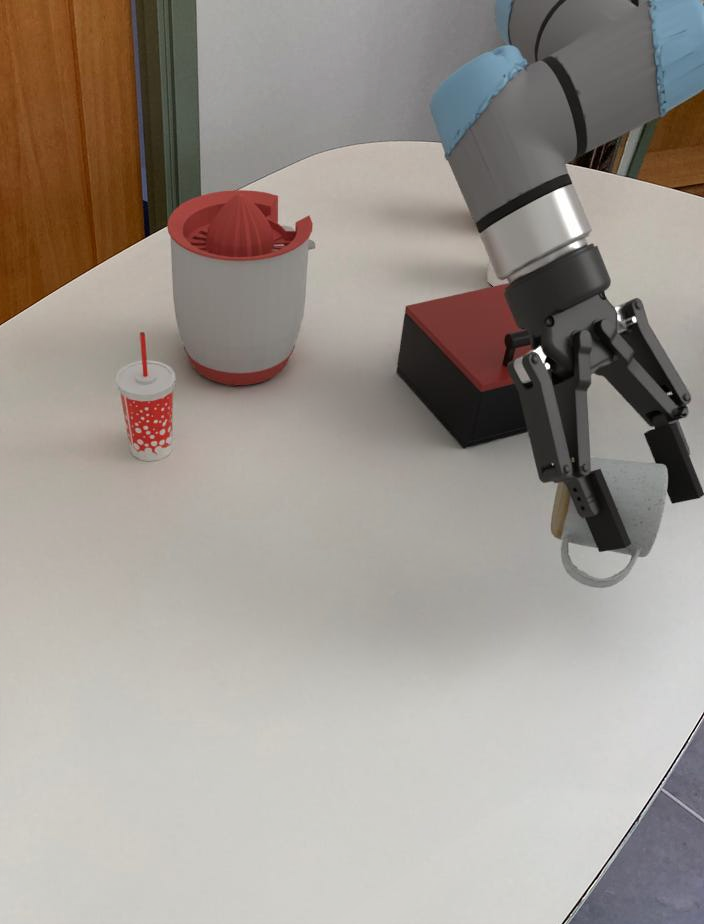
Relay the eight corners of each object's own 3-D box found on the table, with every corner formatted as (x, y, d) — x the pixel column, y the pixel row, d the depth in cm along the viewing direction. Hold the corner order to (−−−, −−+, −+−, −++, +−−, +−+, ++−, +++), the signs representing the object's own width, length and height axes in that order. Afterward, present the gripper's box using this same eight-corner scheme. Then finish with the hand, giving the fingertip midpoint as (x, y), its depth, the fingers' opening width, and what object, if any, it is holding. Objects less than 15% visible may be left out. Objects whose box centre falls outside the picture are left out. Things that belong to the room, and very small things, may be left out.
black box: (569, 420, 110) (588, 360, 105) (463, 449, 107) (476, 387, 101) (495, 348, 120) (509, 289, 114) (395, 372, 117) (404, 312, 111)
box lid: (593, 364, 104) (605, 326, 101) (481, 392, 101) (489, 354, 98) (509, 288, 114) (517, 252, 111) (404, 312, 111) (410, 275, 108)
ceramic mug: (548, 500, 89) (570, 432, 83) (643, 516, 87) (672, 447, 82) (541, 583, 82) (564, 515, 76) (643, 601, 81) (675, 533, 75)
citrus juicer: (342, 364, 118) (358, 197, 103) (222, 414, 112) (221, 244, 96) (264, 307, 127) (269, 145, 111) (149, 351, 120) (137, 185, 105)
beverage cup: (190, 450, 107) (185, 335, 97) (144, 473, 105) (134, 358, 94) (156, 423, 111) (149, 310, 100) (111, 445, 108) (98, 331, 97)
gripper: (598, 240, 85) (693, 479, 89) (418, 325, 77) (531, 585, 80) (671, 201, 78) (770, 461, 82) (482, 290, 70) (602, 576, 73)
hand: (652, 522), depth 81 cm, fingers closed on ceramic mug, 9 cm apart
